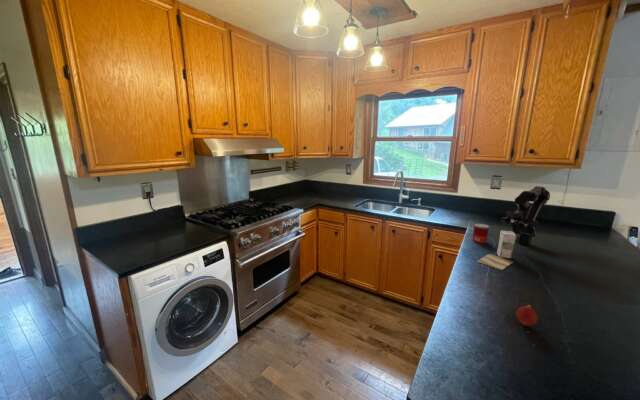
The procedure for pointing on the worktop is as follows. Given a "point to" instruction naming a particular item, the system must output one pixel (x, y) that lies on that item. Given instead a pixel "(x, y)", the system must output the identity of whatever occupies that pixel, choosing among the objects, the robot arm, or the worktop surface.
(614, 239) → the worktop surface
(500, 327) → the worktop surface
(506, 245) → the syrup box
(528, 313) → the onion
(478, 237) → the canned food
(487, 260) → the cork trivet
